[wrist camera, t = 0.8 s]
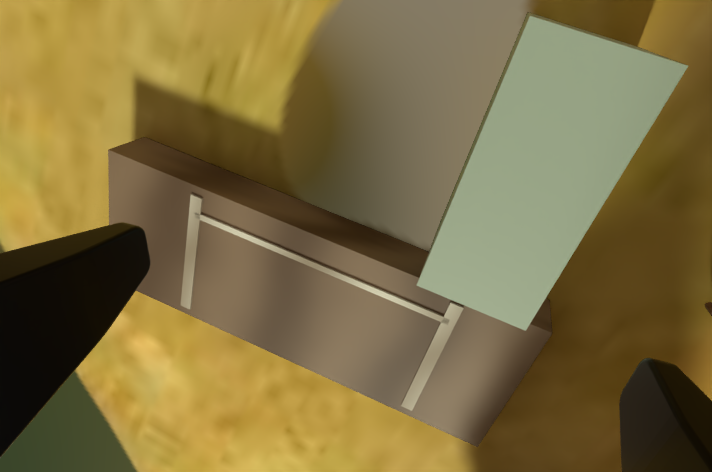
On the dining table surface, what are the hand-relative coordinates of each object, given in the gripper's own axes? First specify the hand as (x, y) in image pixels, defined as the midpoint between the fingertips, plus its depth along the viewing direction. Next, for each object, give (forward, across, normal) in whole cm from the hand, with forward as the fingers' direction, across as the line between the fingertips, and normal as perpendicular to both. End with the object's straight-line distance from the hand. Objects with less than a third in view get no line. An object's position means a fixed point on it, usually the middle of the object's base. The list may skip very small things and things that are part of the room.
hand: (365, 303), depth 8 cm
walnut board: (+13, +5, +10) cm, 17 cm away
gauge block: (+13, -3, +1) cm, 14 cm away
